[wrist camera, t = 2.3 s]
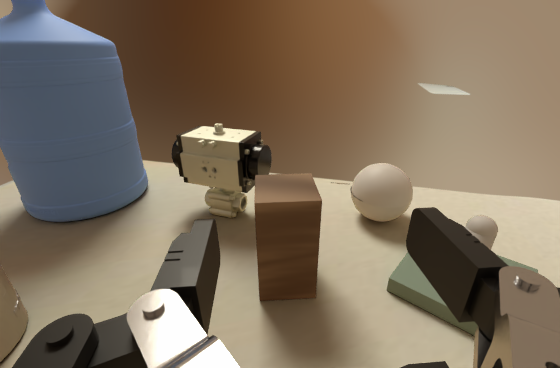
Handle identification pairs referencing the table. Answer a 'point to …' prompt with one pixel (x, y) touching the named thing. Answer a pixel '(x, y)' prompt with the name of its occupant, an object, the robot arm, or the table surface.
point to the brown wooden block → (287, 235)
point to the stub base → (422, 294)
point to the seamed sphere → (381, 192)
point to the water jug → (65, 118)
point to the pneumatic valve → (222, 164)
